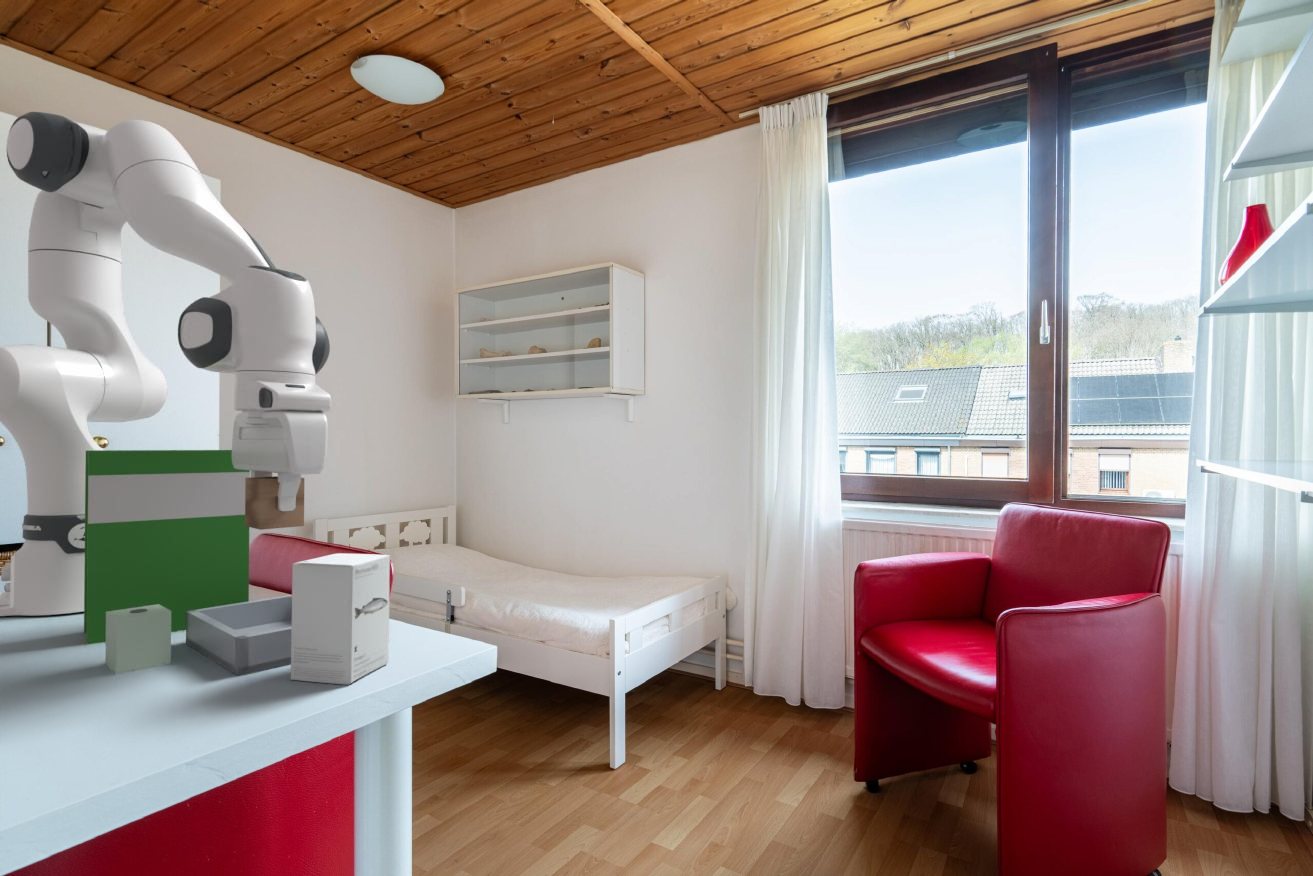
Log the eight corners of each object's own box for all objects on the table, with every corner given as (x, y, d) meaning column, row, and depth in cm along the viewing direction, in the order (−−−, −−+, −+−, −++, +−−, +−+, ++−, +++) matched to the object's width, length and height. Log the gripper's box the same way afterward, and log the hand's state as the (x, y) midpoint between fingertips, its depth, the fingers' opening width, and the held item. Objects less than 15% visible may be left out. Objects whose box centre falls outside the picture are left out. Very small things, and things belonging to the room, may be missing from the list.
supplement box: (350, 686, 72) (351, 565, 72) (288, 681, 74) (289, 562, 74) (391, 664, 79) (392, 553, 79) (333, 659, 81) (334, 551, 81)
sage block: (105, 664, 79) (105, 610, 79) (158, 654, 82) (158, 603, 83) (116, 674, 75) (116, 618, 75) (170, 663, 79) (171, 610, 79)
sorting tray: (185, 643, 87) (186, 611, 87) (301, 621, 97) (302, 593, 97) (238, 675, 75) (238, 638, 75) (363, 647, 86) (364, 614, 86)
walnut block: (245, 526, 86) (245, 476, 86) (287, 522, 90) (287, 475, 90) (260, 529, 83) (260, 478, 83) (304, 525, 87) (304, 477, 87)
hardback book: (86, 644, 86) (88, 451, 86) (83, 632, 92) (85, 450, 92) (248, 620, 98) (249, 450, 98) (237, 610, 103) (238, 449, 103)
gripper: (218, 399, 91) (217, 504, 91) (281, 393, 77) (280, 517, 77) (270, 401, 95) (269, 501, 95) (338, 396, 82) (337, 513, 82)
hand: (274, 508), depth 86 cm, fingers closed on walnut block, 5 cm apart
